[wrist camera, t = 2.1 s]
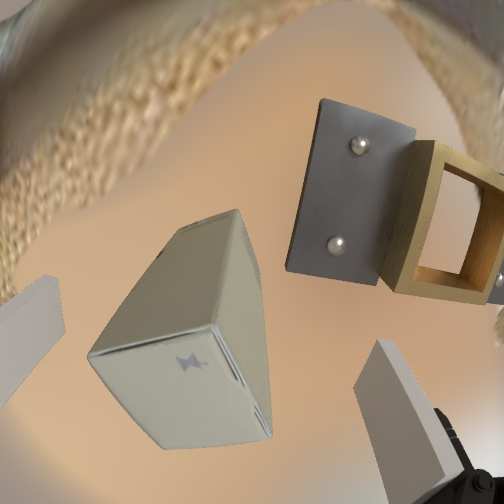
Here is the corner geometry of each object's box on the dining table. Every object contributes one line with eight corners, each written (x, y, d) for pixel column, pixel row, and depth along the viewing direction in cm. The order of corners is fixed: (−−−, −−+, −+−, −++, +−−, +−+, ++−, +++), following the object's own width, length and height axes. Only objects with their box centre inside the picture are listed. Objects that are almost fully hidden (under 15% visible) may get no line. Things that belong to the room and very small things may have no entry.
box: (176, 227, 19) (71, 347, 7) (240, 206, 18) (214, 315, 6) (205, 296, 20) (159, 455, 8) (265, 279, 20) (277, 444, 8)
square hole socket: (284, 265, 20) (290, 288, 16) (319, 100, 16) (334, 89, 13) (497, 300, 21) (517, 317, 18) (530, 194, 17) (555, 202, 14)
